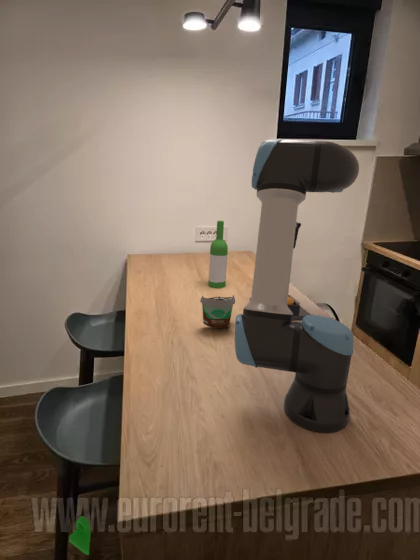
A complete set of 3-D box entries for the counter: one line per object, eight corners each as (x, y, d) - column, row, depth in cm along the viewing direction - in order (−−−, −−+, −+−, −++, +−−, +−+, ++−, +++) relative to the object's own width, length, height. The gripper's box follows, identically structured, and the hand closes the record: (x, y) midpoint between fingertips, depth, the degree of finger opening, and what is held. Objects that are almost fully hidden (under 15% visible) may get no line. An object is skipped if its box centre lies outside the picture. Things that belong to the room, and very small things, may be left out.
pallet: (311, 319, 141) (313, 305, 139) (267, 320, 137) (269, 306, 135) (288, 300, 160) (289, 287, 159) (249, 301, 156) (250, 288, 155)
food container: (203, 330, 126) (204, 301, 123) (199, 323, 132) (200, 295, 129) (238, 328, 129) (240, 300, 126) (232, 321, 135) (234, 294, 132)
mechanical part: (68, 541, 147) (67, 525, 145) (80, 529, 152) (79, 513, 150) (89, 558, 141) (89, 541, 139) (102, 545, 146) (101, 529, 144)
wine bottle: (228, 289, 170) (232, 222, 162) (211, 290, 167) (215, 222, 159) (221, 284, 177) (225, 219, 169) (205, 285, 174) (208, 219, 166)
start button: (295, 308, 139) (296, 300, 138) (283, 308, 138) (284, 300, 137) (290, 304, 143) (291, 296, 143) (279, 304, 142) (280, 296, 142)
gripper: (301, 204, 146) (294, 263, 153) (261, 203, 143) (256, 263, 149) (310, 206, 139) (302, 268, 146) (268, 205, 136) (263, 268, 142)
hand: (279, 266), depth 148 cm, fingers open, 3 cm apart
